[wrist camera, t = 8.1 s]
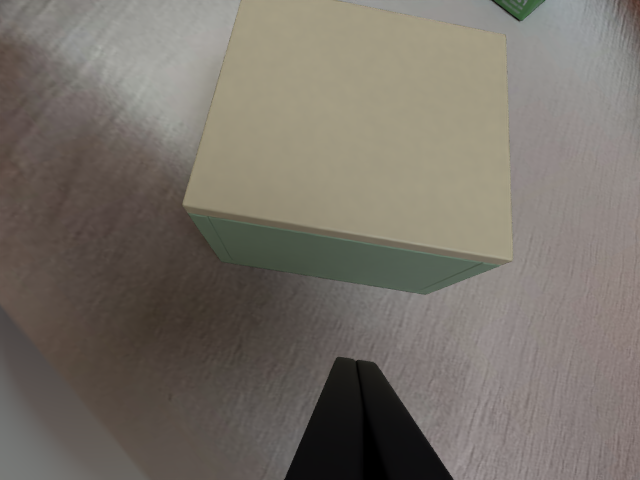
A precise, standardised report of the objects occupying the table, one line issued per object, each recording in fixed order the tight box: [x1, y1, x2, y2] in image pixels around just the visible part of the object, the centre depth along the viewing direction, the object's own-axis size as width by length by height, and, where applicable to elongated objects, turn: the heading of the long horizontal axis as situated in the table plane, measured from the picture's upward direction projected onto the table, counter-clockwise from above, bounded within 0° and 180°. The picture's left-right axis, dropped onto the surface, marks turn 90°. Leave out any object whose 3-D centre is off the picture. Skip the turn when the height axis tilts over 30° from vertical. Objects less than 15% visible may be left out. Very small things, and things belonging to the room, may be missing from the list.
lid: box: [182, 0, 513, 265], centre depth 15 cm, size 11×13×1 cm
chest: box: [188, 213, 500, 295], centre depth 19 cm, size 11×13×8 cm
